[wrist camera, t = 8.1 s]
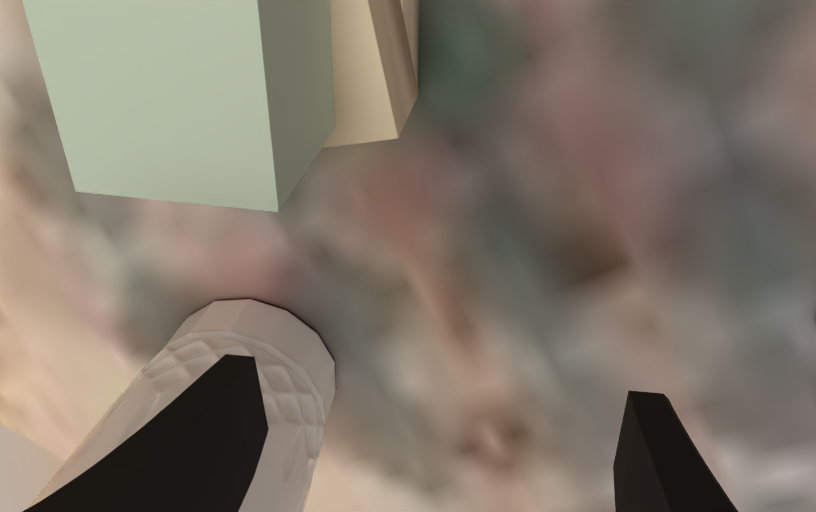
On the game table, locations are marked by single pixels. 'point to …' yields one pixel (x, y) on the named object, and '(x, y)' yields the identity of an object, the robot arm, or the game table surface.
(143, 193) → the cube
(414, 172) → the game table surface
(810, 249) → the game table surface
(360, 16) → the slab upper
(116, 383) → the game table surface
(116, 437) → the white cup
